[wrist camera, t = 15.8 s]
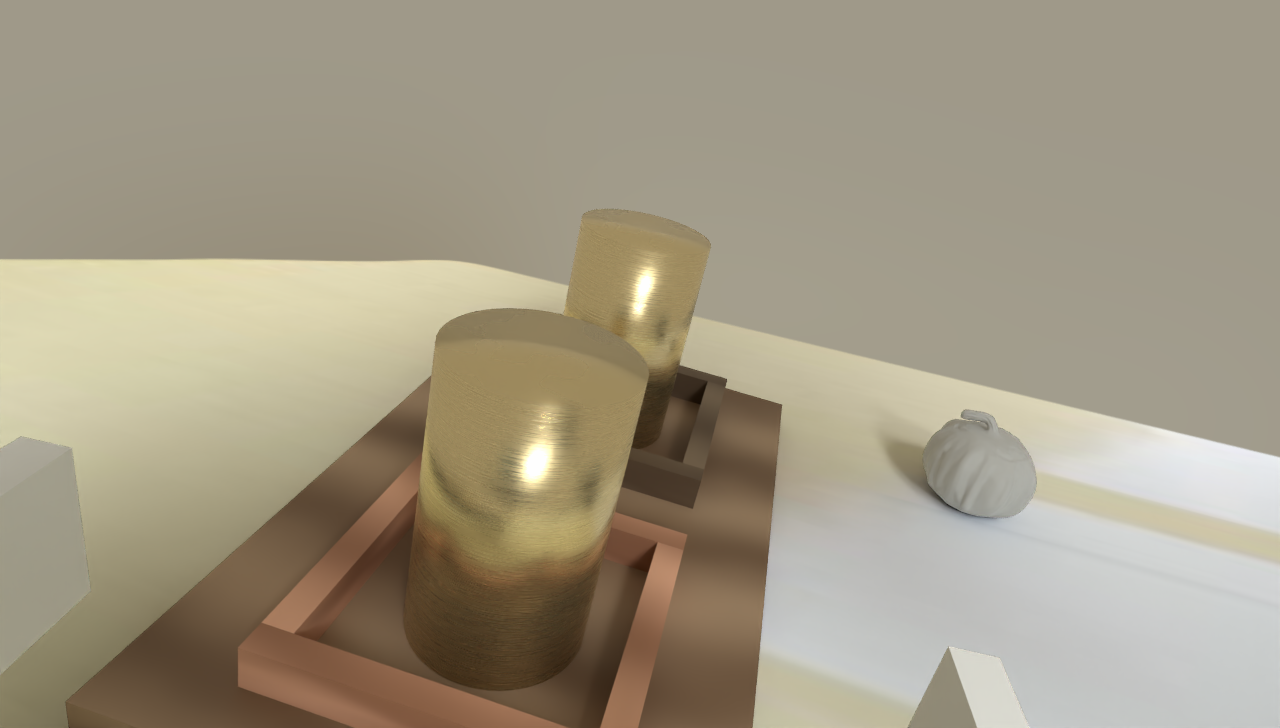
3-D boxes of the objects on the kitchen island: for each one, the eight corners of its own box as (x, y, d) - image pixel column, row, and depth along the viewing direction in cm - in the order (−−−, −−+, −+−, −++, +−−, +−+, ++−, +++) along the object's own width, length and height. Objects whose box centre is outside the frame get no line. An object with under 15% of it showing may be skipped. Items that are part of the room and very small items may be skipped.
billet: (638, 389, 43) (681, 216, 39) (679, 450, 39) (732, 259, 34) (533, 387, 41) (567, 202, 37) (562, 451, 36) (604, 247, 32)
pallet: (490, 338, 48) (496, 297, 47) (776, 422, 46) (789, 382, 45) (69, 733, 21) (59, 659, 20) (719, 971, 19) (749, 906, 18)
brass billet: (559, 552, 30) (611, 314, 26) (607, 677, 25) (681, 409, 21) (396, 562, 27) (423, 302, 23) (412, 703, 23) (452, 406, 18)
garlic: (887, 478, 43) (922, 397, 41) (943, 463, 46) (978, 386, 44) (980, 547, 39) (1024, 460, 37) (1034, 524, 42) (1078, 443, 40)
